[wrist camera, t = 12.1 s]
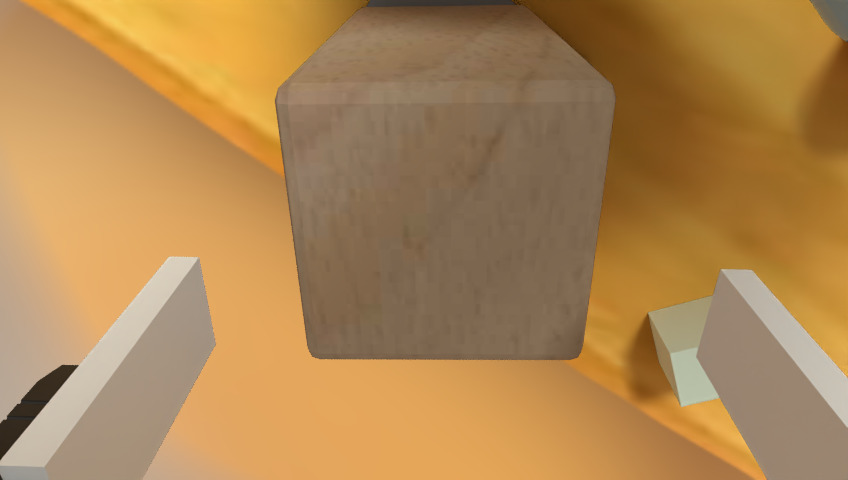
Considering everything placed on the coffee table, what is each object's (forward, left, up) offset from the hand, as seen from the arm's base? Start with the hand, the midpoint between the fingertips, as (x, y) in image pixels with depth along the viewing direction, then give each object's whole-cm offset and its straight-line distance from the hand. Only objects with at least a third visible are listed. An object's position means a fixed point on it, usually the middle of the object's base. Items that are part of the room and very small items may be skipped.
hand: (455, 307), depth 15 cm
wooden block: (0, 0, -24) cm, 24 cm away
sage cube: (+18, +19, -25) cm, 36 cm away
